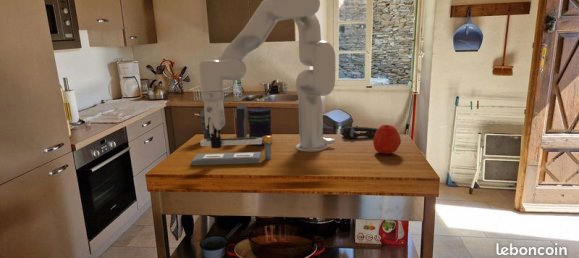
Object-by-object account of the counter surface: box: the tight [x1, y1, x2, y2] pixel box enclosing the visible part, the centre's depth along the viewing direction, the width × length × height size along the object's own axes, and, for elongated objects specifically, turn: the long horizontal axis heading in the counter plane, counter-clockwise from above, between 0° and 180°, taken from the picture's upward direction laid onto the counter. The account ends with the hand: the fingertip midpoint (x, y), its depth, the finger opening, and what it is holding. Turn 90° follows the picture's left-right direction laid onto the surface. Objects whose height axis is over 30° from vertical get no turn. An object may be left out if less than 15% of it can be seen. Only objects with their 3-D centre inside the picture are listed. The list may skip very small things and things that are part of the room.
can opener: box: [341, 125, 378, 140], centre depth 173 cm, size 18×7×6 cm, turn 91°
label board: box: [191, 143, 272, 166], centre depth 144 cm, size 28×10×6 cm, turn 91°
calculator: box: [235, 104, 248, 138], centre depth 176 cm, size 11×4×15 cm, turn 0°
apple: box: [372, 124, 402, 154], centre depth 149 cm, size 10×10×10 cm
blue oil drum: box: [247, 107, 273, 148], centre depth 166 cm, size 10×10×15 cm
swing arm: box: [199, 135, 273, 147], centre depth 143 cm, size 26×4×2 cm, turn 91°
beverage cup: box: [199, 108, 211, 139], centre depth 172 cm, size 7×7×20 cm
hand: (216, 147), depth 139 cm, fingers closed
